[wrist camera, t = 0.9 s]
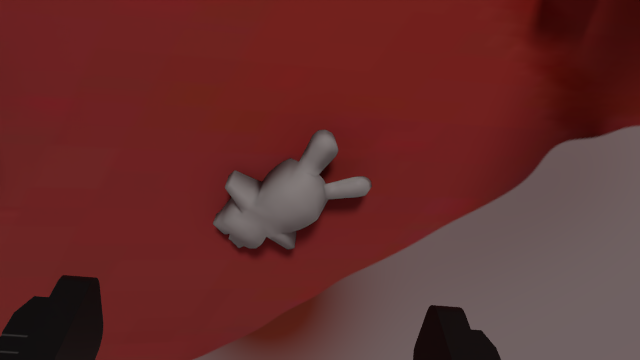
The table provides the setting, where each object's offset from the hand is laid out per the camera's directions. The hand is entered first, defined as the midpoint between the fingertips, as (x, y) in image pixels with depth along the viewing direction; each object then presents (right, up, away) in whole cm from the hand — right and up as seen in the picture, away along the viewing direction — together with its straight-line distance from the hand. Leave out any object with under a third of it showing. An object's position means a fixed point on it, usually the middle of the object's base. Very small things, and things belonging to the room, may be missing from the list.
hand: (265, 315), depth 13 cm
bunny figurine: (-2, +3, +39) cm, 39 cm away
